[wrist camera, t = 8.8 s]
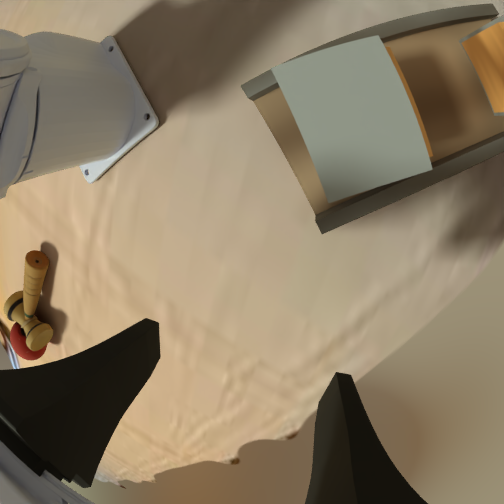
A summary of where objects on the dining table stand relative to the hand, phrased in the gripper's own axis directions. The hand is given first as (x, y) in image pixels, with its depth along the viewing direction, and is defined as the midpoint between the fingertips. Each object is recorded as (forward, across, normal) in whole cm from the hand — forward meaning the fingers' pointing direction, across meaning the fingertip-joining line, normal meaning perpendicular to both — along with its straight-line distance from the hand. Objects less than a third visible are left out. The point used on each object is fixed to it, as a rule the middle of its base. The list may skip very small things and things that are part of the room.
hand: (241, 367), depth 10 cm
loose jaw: (+8, -2, -10) cm, 13 cm away
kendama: (+10, +27, +14) cm, 32 cm away
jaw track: (+9, -6, -13) cm, 17 cm away
